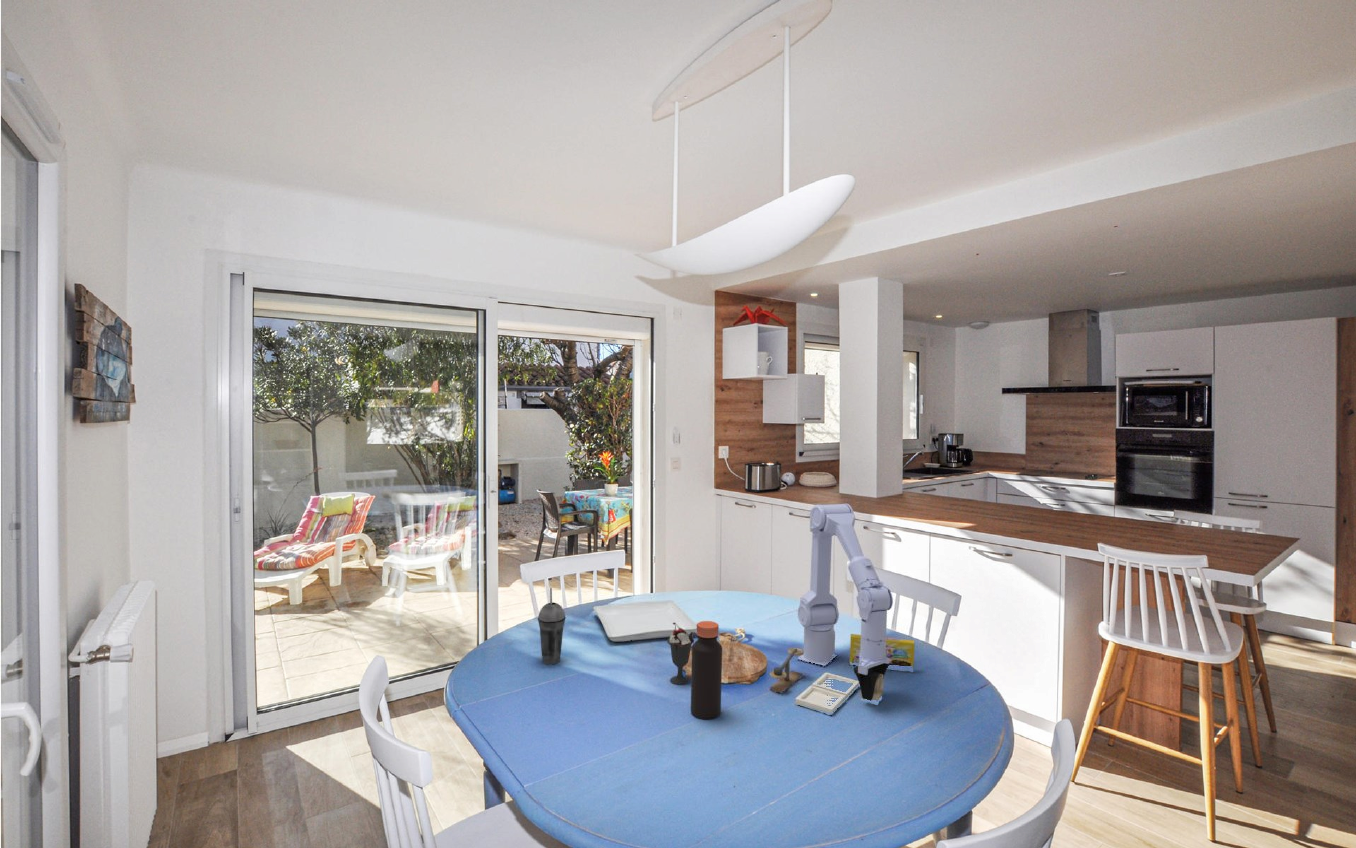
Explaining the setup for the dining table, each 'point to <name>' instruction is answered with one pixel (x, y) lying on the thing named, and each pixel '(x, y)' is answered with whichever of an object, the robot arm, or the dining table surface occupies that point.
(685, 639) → the sundae
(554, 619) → the beverage cup
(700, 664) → the bottle
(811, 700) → the outer dish
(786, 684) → the balance
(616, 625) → the square plate
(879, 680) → the maple block
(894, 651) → the candy box
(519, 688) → the dining table surface
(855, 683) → the white square tray
